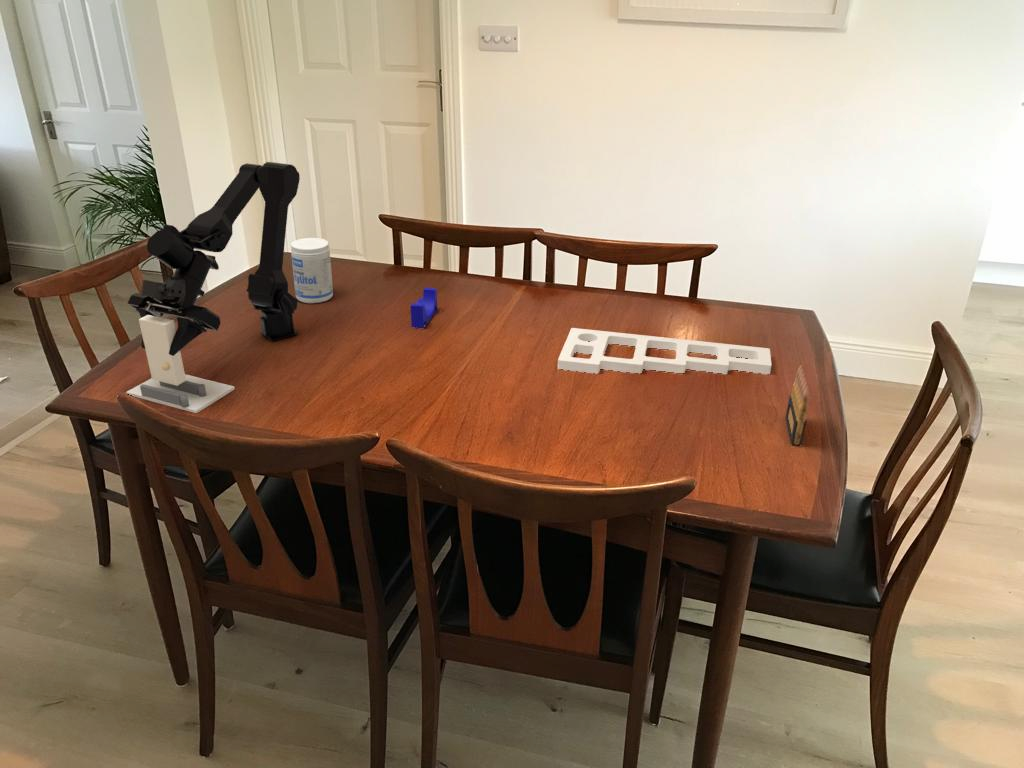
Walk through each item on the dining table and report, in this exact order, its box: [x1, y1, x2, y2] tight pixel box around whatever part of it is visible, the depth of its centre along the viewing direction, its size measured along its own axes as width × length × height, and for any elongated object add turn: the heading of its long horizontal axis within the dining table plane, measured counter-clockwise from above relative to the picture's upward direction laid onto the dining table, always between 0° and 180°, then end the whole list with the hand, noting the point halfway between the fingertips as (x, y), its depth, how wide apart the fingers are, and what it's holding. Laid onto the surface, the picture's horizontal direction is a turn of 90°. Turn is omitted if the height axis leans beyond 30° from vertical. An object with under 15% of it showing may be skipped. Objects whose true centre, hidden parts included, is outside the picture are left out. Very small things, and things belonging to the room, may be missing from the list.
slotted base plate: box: [125, 373, 235, 414], centre depth 165 cm, size 11×18×3 cm, turn 66°
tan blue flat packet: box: [785, 364, 810, 446], centre depth 152 cm, size 11×2×12 cm, turn 169°
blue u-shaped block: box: [410, 287, 438, 329], centre depth 199 cm, size 12×4×6 cm, turn 169°
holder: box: [557, 327, 772, 375], centre depth 180 cm, size 45×18×3 cm, turn 77°
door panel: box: [138, 315, 186, 386], centre depth 158 cm, size 4×6×13 cm, turn 66°
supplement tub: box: [290, 237, 334, 304], centre depth 208 cm, size 10×10×15 cm
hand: (157, 351), depth 158 cm, fingers closed on door panel, 6 cm apart
